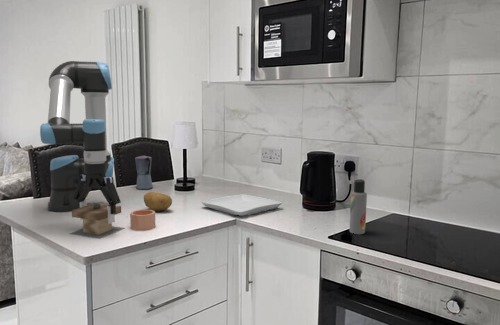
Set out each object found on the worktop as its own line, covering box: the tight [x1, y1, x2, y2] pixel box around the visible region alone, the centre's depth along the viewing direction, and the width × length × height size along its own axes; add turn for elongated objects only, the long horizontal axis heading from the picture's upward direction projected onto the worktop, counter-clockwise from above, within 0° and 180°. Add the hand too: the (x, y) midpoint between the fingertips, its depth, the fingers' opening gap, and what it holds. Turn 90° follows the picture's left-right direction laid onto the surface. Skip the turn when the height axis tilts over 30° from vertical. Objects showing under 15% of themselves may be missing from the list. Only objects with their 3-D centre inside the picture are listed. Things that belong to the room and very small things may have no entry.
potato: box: [143, 191, 173, 212], centre depth 187 cm, size 10×14×8 cm
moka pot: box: [134, 152, 153, 190], centre depth 235 cm, size 10×15×20 cm, turn 40°
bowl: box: [129, 209, 157, 231], centre depth 161 cm, size 9×9×6 cm
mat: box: [68, 225, 126, 240], centre depth 156 cm, size 14×14×1 cm
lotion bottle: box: [349, 178, 368, 235], centre depth 158 cm, size 6×6×20 cm
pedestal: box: [82, 218, 113, 235], centre depth 155 cm, size 7×7×6 cm
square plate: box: [200, 193, 283, 217], centre depth 194 cm, size 27×27×4 cm
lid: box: [71, 202, 122, 221], centre depth 154 cm, size 12×12×4 cm
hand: (97, 220), depth 155 cm, fingers closed on lid, 12 cm apart
